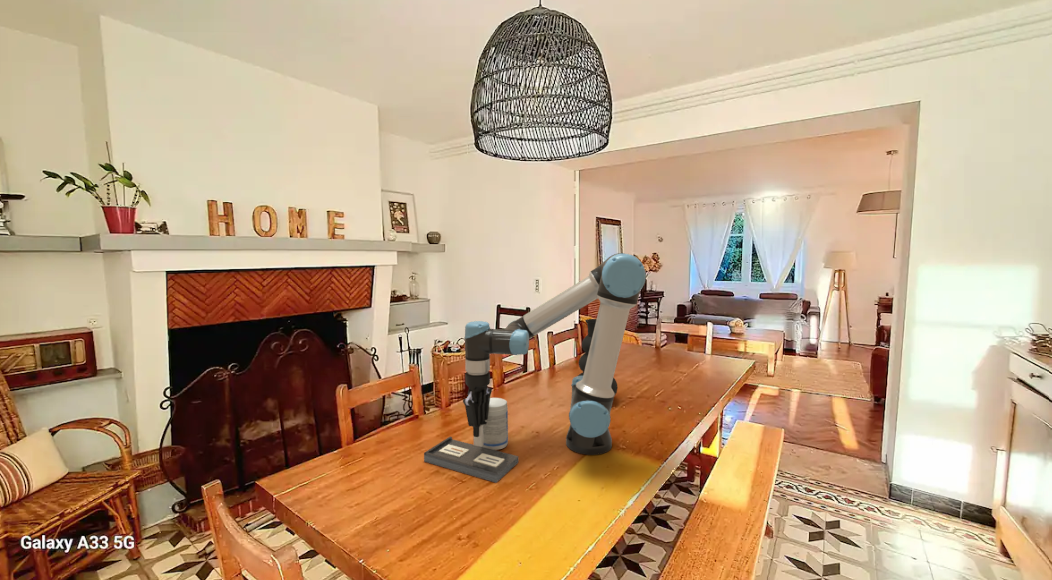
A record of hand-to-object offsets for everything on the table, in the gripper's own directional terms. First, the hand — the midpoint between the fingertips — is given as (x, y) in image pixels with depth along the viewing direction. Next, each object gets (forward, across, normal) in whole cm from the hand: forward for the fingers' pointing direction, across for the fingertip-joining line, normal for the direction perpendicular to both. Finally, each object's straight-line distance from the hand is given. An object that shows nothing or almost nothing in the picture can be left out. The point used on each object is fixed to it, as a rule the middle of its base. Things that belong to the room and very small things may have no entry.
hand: (478, 444), depth 137 cm
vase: (+4, -63, +17) cm, 65 cm away
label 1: (+2, +4, -7) cm, 8 cm away
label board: (+4, +4, 0) cm, 5 cm away
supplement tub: (+4, -9, 0) cm, 10 cm away
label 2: (+2, +4, +6) cm, 8 cm away
